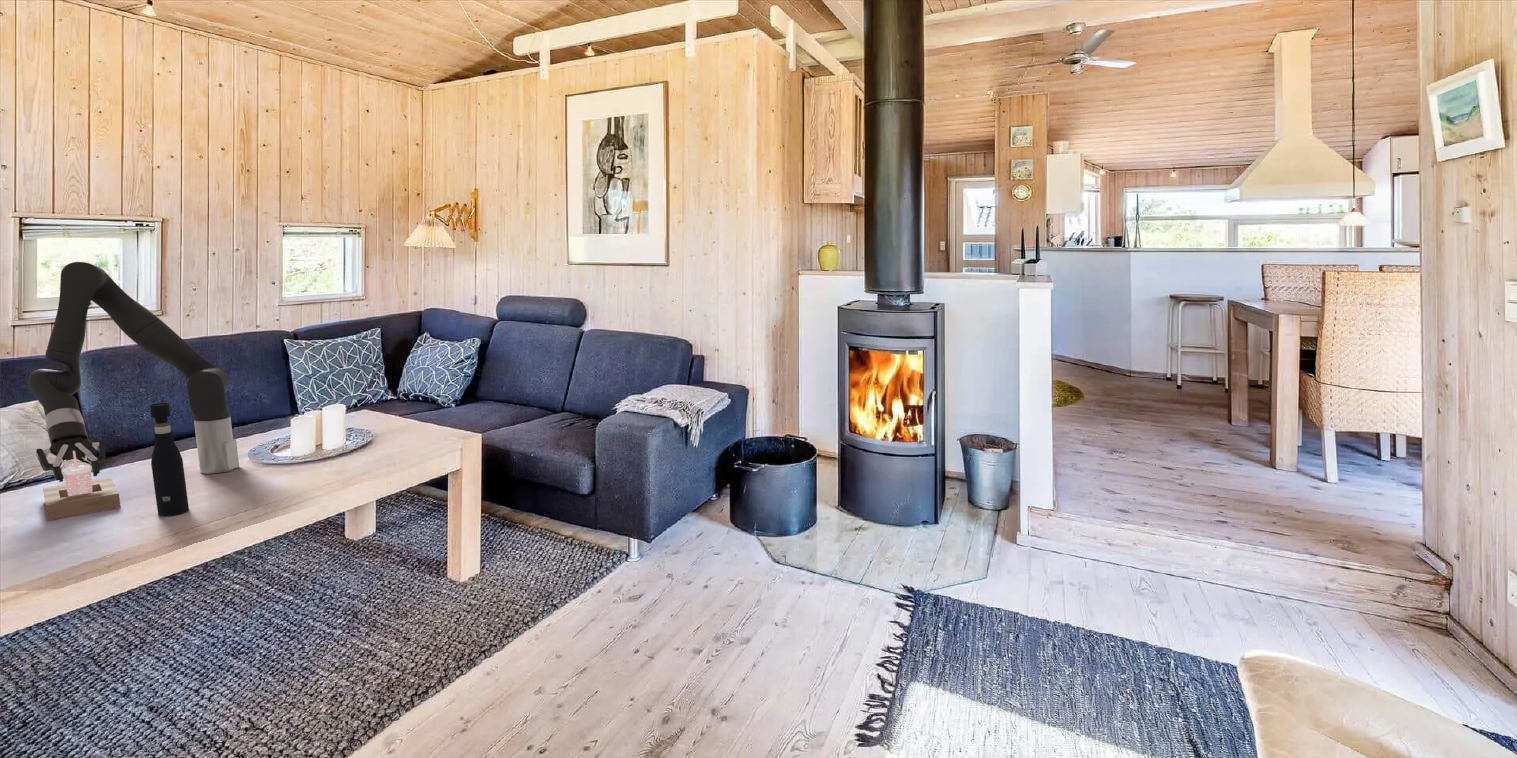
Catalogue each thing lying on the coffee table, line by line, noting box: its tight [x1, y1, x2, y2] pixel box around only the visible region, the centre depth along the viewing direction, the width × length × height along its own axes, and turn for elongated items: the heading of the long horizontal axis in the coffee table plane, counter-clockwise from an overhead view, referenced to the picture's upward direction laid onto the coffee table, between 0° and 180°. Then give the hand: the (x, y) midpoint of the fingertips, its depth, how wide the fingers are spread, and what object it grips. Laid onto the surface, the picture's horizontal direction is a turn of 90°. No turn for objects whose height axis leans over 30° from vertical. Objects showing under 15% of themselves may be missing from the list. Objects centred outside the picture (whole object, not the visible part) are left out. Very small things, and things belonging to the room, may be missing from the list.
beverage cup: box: [61, 451, 93, 496], centre depth 188 cm, size 6×6×14 cm
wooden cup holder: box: [42, 476, 122, 521], centre depth 189 cm, size 20×14×4 cm
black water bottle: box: [149, 402, 190, 518], centre depth 183 cm, size 6×6×30 cm
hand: (78, 477), depth 187 cm, fingers closed on beverage cup, 6 cm apart
